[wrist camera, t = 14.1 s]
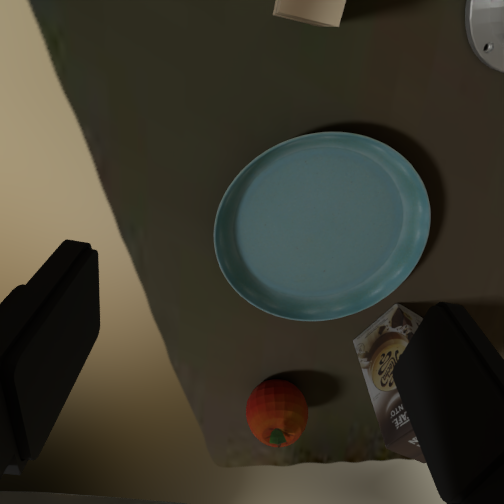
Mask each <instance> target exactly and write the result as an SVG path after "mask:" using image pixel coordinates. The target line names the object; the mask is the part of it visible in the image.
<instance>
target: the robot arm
mask: <svg viewBox="0 0 504 504" xmlns="http://www.w3.org/2000/svg"><path fill="white" fill-rule="evenodd" d="M465 28H466V32H467V37H468V41H469V43H470V45H471V48H472V50H473V52H474V53H475V55H476V56H477V57H478V58H479V59H480V61H481V62H483V63H484V64H485V65H487V66H488V67H490V68H491V69H494V70H497V71H499V72H503V73H504V0H467V2H466V9H465ZM485 45H486V48H485V49H484V46H485ZM483 49H484V50H483ZM99 330H100V304H99V269H98V252H97V251H96V250H93V249H92V248H91V245H90V244H89V243H85V242H79V241H73V240H65V241H63V242H62V244H61V245H60V246H59V247H58V248H57V249H56V250H55V252H54V253H53V254H52V255H51V256H50V257H49V258H48V260H47V261H46V262H45V263H44V264H43V265H42V267H41V268H40V269H39V270H38V271H37V272H36V273H35V275H34V276H33V277H32V278H31V279H30V280H29V281H28V283H27V284H26V285H19V286H17V287H16V288H15V289H13V290H12V292H11V293H10V294H9V295H8V296H7V297H6V298H5V299H4V300H3V302H1V304H0V479H1V477H2V475H3V473H4V474H15V475H21V473H22V471H23V469H24V467H25V465H26V463H27V461H28V460H35V459H36V458H37V457H38V456H39V454H40V452H41V450H42V448H43V446H44V444H45V442H46V440H47V438H48V436H49V434H50V432H51V430H52V428H53V426H54V424H55V422H56V420H57V418H58V416H59V413H60V412H61V410H62V408H63V406H64V404H65V402H66V400H67V398H68V396H69V394H70V392H71V389H72V387H73V386H74V384H75V382H76V379H77V377H78V375H79V373H80V371H81V369H82V367H83V365H84V363H85V361H86V359H87V357H88V355H89V353H90V351H91V349H92V347H93V345H94V343H95V341H96V339H97V337H98V334H99ZM393 380H394V383H395V385H396V388H397V390H398V393H399V395H400V398H401V400H402V403H403V405H404V408H405V410H406V413H407V415H408V418H409V420H410V423H411V425H412V428H413V430H414V433H415V435H416V438H417V440H418V443H419V445H420V448H421V450H422V453H423V455H424V458H425V460H426V463H427V465H428V468H429V470H430V473H431V475H432V478H433V480H434V483H435V485H436V488H437V490H438V492H439V495H440V497H441V498H442V500H443V501H445V502H446V503H447V504H504V360H503V358H502V357H501V356H500V354H499V353H498V352H497V350H496V349H495V348H494V346H493V345H492V344H491V342H490V341H489V340H488V338H487V337H486V336H485V334H484V333H483V332H482V330H481V329H480V328H479V326H478V325H477V324H476V322H475V321H474V320H473V318H472V317H471V316H470V314H469V313H468V312H467V310H466V309H465V308H464V307H463V306H461V305H457V304H451V303H445V302H439V303H437V304H436V305H435V306H432V307H431V308H430V309H429V310H428V312H427V313H426V315H425V317H424V318H423V320H422V322H421V323H420V325H419V327H418V328H417V330H416V331H415V333H414V335H413V336H412V338H411V340H410V341H409V343H408V345H407V346H406V348H405V349H404V351H403V353H402V354H401V356H400V358H399V359H398V361H397V363H396V364H395V366H394V368H393ZM0 504H185V503H173V502H162V501H150V500H139V499H127V498H115V497H100V496H85V495H71V494H57V493H44V492H5V491H0Z"/></svg>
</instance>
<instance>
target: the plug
mask: <svg viewBox="0 0 504 504" xmlns="http://www.w3.org/2000/svg"><path fill="white" fill-rule="evenodd" d="M345 3H346V0H276V2H275V7H274V12H273V15H274V16H278V17H283V18H287V19H291V20H295V21H299V22H303V23H307V24H311V25H315V26H325V27H339V24H340V20H341V17H342V13H343V10H344V6H345Z"/></svg>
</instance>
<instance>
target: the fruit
mask: <svg viewBox="0 0 504 504" xmlns="http://www.w3.org/2000/svg"><path fill="white" fill-rule="evenodd" d="M246 416H247V422H248V424H249V427H250V429H251V431H252V433H253V434H254V435H255V436H256V437H257V438H258V439H259V440H260V441H261V442H263V443H264V444H266V445H269V446H272V447H284V446H288V445H290V444H292V443H294V442H295V441H296V440H297V439H298V438H299V437H300V435H301V434H302V432H303V431H304V430H305V427H306V424H307V419H308V407H307V404H306V401H305V398H304V396H303V394H302V393H301V391H300V390H299V389H298V388H297V387H296V386H295V385H293V384H292V383H290V382H288V381H286V380H281V379H273V380H267V381H265V382H262V383H261V384H259V385H258V386H257V387H256V388H255V389H254V390H253V391H252V393H251V395H250V397H249V399H248V401H247V407H246Z"/></svg>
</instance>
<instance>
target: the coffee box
mask: <svg viewBox="0 0 504 504" xmlns="http://www.w3.org/2000/svg"><path fill="white" fill-rule="evenodd" d="M422 320H423V318H422V317H420V316H419V315H417V314H416V313H414V312H412V311H411V310H409V309H407V308H406V307H404V306H402V305H401V304H399V303H397V304H395V305H394V306H393V307H392V308H390V309H389V310H388V311H387V312H386V313H385V314H384V315H382V316H381V317H380V318H379V319H378V320H377V321H375V322H374V323H373V324H372V325H371V326H370V327H368V328H367V329H366V330H365V331H364V332H363V333H361V334H360V335H359V336H358V337H357V338H356V339H354V341H353V342H354V345H355V349H356V352H357V355H358V358H359V361H360V365H361V368H362V371H363V374H364V378H365V381H366V384H367V387H368V390H369V394H370V397H371V400H372V403H373V407H374V410H375V413H376V416H377V420H378V423H379V426H380V429H381V433H382V436H383V439H384V442H385V446H386V448H387V449H389V450H391V451H394V452H396V453H398V454H401V455H403V456H406V457H409V458H413V459H415V460H417V461H420V462H422V463H426V460H425V458H424V455H423V453H422V450H421V448H420V445H419V443H418V440H417V438H416V435H415V433H414V430H413V428H412V425H411V423H410V420H409V418H408V415H407V413H406V410H405V408H404V405H403V403H402V400H401V398H400V395H399V393H398V390H397V388H396V385H395V383H394V380H393V368H394V366H395V364H396V363H397V361H398V359H399V358H400V356H401V354H402V353H403V351H404V349H405V348H406V346H407V345H408V343H409V341H410V340H411V338H412V336H413V335H414V333H415V331H416V330H417V328H418V327H419V325H420V323H421V322H422Z"/></svg>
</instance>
